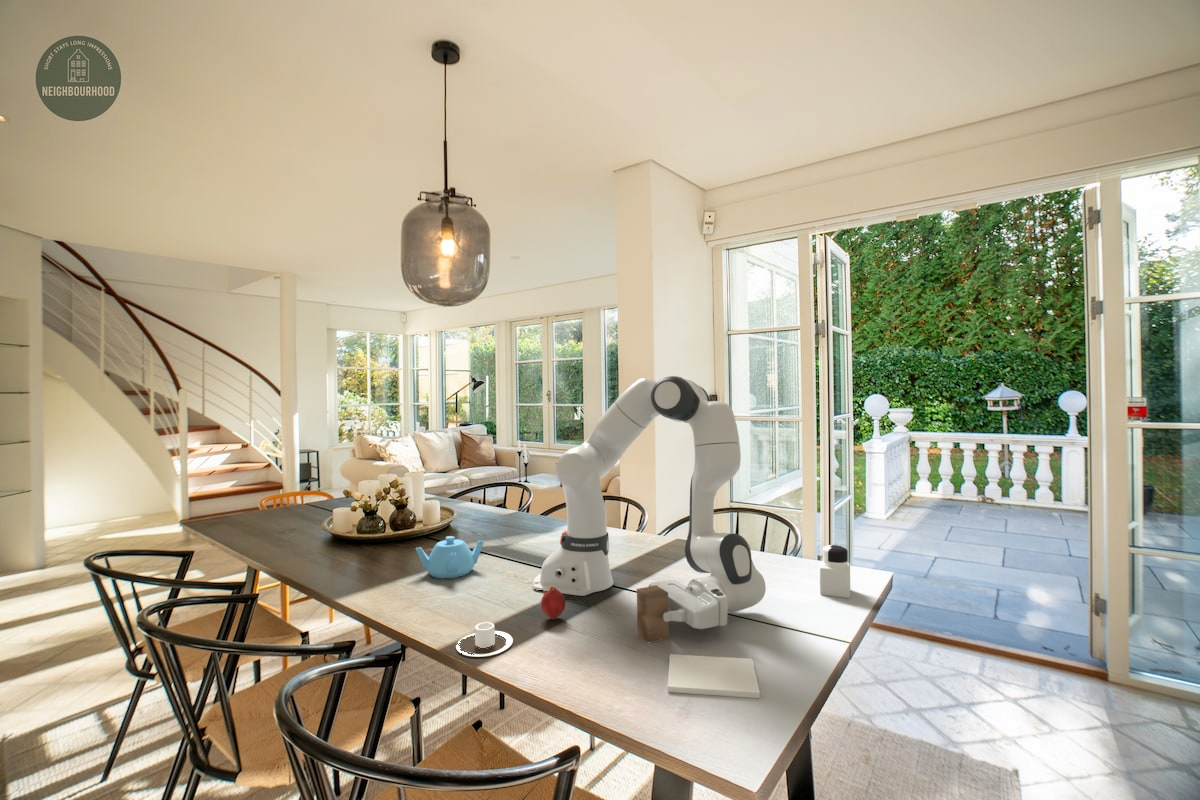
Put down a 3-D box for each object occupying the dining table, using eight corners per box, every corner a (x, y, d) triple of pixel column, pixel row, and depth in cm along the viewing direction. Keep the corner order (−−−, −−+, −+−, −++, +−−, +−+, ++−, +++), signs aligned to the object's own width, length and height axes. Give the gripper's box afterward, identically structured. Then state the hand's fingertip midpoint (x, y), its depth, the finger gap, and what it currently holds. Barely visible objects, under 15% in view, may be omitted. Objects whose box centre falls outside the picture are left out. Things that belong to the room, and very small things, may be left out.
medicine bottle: (850, 589, 145) (849, 544, 145) (850, 599, 139) (849, 552, 138) (821, 585, 148) (821, 541, 148) (820, 595, 142) (819, 549, 141)
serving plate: (667, 691, 98) (667, 686, 98) (669, 659, 110) (669, 654, 110) (760, 698, 95) (759, 692, 95) (751, 663, 107) (751, 658, 107)
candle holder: (501, 662, 110) (501, 640, 110) (446, 658, 112) (445, 637, 112) (520, 635, 122) (519, 616, 122) (469, 632, 124) (469, 613, 124)
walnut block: (637, 633, 121) (636, 589, 121) (656, 629, 123) (656, 585, 123) (648, 642, 117) (648, 596, 117) (668, 638, 119) (668, 592, 119)
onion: (541, 614, 132) (540, 581, 132) (565, 613, 133) (564, 580, 133) (541, 624, 127) (540, 590, 126) (565, 623, 127) (565, 589, 127)
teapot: (487, 568, 168) (487, 533, 168) (454, 584, 155) (453, 546, 154) (449, 562, 175) (448, 528, 175) (414, 576, 161) (413, 540, 161)
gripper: (678, 570, 135) (629, 579, 129) (731, 599, 117) (676, 611, 111) (678, 596, 135) (629, 606, 129) (731, 628, 117) (676, 641, 111)
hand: (651, 608), depth 120 cm, fingers open, 8 cm apart
